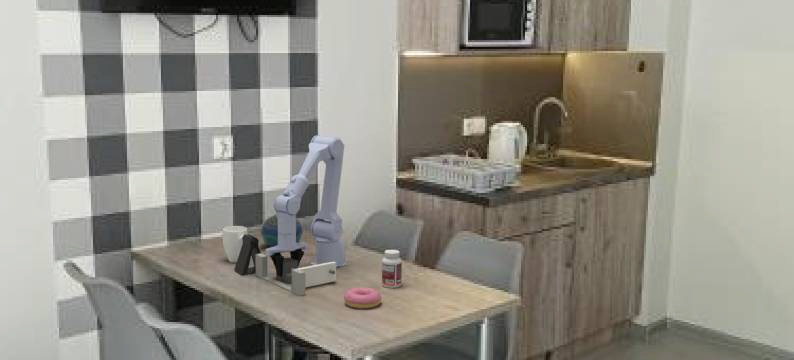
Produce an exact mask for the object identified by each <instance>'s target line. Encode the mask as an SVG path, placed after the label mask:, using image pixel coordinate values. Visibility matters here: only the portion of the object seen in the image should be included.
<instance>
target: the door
mask: <svg viewBox="0 0 794 360" xmlns="http://www.w3.org/2000/svg"><path fill="white" fill-rule="evenodd" d="M297 269H299V270H301V271H304V272H305V288H308V287H313V286H318V285H323V284H327V283H333V282H336V281H337V267H336V262H328V263H323V264H318V265H308V266H303V267H298V268H297ZM294 270H295V269H294Z"/></svg>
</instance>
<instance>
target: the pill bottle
mask: <svg viewBox="0 0 794 360" xmlns="http://www.w3.org/2000/svg"><path fill="white" fill-rule="evenodd" d="M400 253H401V252H400V251H399V250H398V249H386V250H384V253H383V254H384V257H383V258H382V259H381V284H382V286H383V287H385V288H388V289H390V288H391V289H395V288H399V287H401V286H402V281H403V280H402V275H403V274H402V270H403V269H402V268H403V265H402V263H403V260H402V259H401V258H400Z"/></svg>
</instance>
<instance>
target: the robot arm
mask: <svg viewBox="0 0 794 360" xmlns="http://www.w3.org/2000/svg"><path fill="white" fill-rule="evenodd" d="M308 151H309V152H308V154H307V155H306V157H305V160H304V161H303V164H302V166H301V167H300V170H299V172H298V174H296V175H292V176H291V179H290V180H289V182H288V184H287V185H286V187H285V189H284V190H283V192H282V194H280V195H278V196H277V197H276V198H275V200H274V203H273V204H272V205H273V210H274V211H275V212H276V213H275V214H276V216H277V218H278V245H277V246H274V247H269V248H265V255H266V256H267V257H270V259H271V260H272V263H273V265H274V268H275V274H276V273H277V275H278V276H282V266H283V260H284V258H285V256H283V255H282V254H283V253H289V255H290V258H293V259H295V260H298V267H299V266H300V264H301V261H302V258H303V257H304V255H305V251H303V250H308V247H309V246H308V245H309V244H308V243H307V242H305V241H304V242H299V243H296V219H297V213H298V212H299V210H300V208H301V201H302V197H303V195H304V194H305V192H306V190H307V188H308V187H309V185H310V184H309V181H308V180H309V178H310V177H311V175H312V173H313V172H314V170H315V169H316V168H317V167H318V165H319V164H320V162H322V161H323V162H324V163H323V164H325V171H324V178H323V187H322V195H321V201H320V210H319V211H318V212H317V213H316V214H314V215H313V216H314V217H313V220H312V223H311V225H310V232H311V235H312V237H314V238H313V239H314V241H315V262H310V266H313V265H318V264H323V263H328V262H336V268H339V267H344V266H346V265H347V263H345V261H346V260H345V259H346V258H345V256H346V255H345V253H346V252H345V251H346V248H345V243H344V241H343V239H341V238H342V235H343V230H344V229H343V219H342V218H341V216H340V214H338V213H337V211H338V202H339V194H340V188H341V186H340V185H341V179H342V178H341V177H342V171H343V170H342V169H343V159H344V153H345V152H344V151H345V143H344V142H343V141H342V140H341V138H340V137H330V136H323V135H318V134H317V135H314V136H313V137H312V139H310V143H309V144H308Z"/></svg>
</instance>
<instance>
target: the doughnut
mask: <svg viewBox="0 0 794 360" xmlns="http://www.w3.org/2000/svg"><path fill="white" fill-rule="evenodd" d="M343 299H344V302H345V304H346V305H347V306H349V307H351V308H354V309H372V308H374V307H375V308H376V307H377V306H378V305H380V304H381V300H382V295H381V293H380V291H379V290H377V289H375V288H370V287H364V286H363V287H354V288H349V289H348V290H347V291H346V292H345V293H344V295H343Z"/></svg>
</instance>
